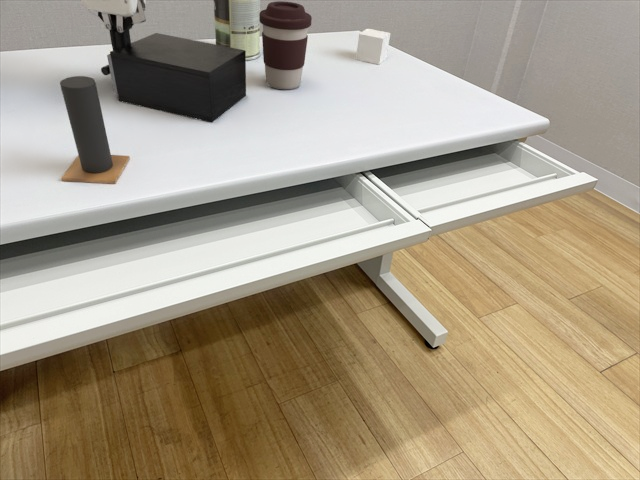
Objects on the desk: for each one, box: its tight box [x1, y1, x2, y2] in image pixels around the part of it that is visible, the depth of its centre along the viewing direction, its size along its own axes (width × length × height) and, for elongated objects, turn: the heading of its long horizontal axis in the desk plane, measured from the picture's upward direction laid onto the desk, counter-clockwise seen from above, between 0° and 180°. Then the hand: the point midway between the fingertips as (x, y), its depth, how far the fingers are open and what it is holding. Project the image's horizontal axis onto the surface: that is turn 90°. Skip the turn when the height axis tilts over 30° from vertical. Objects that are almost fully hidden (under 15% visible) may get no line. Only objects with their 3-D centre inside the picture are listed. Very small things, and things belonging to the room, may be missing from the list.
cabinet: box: [109, 32, 247, 123], centre depth 85 cm, size 19×14×9 cm
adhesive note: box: [355, 27, 391, 66], centre depth 114 cm, size 6×6×6 cm
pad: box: [60, 154, 131, 185], centre depth 66 cm, size 7×7×1 cm
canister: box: [59, 75, 113, 173], centre depth 62 cm, size 4×4×12 cm
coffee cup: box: [259, 0, 313, 90], centre depth 93 cm, size 10×10×15 cm
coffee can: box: [213, 0, 261, 62], centre depth 106 cm, size 10×10×14 cm
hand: (122, 52), depth 87 cm, fingers closed
